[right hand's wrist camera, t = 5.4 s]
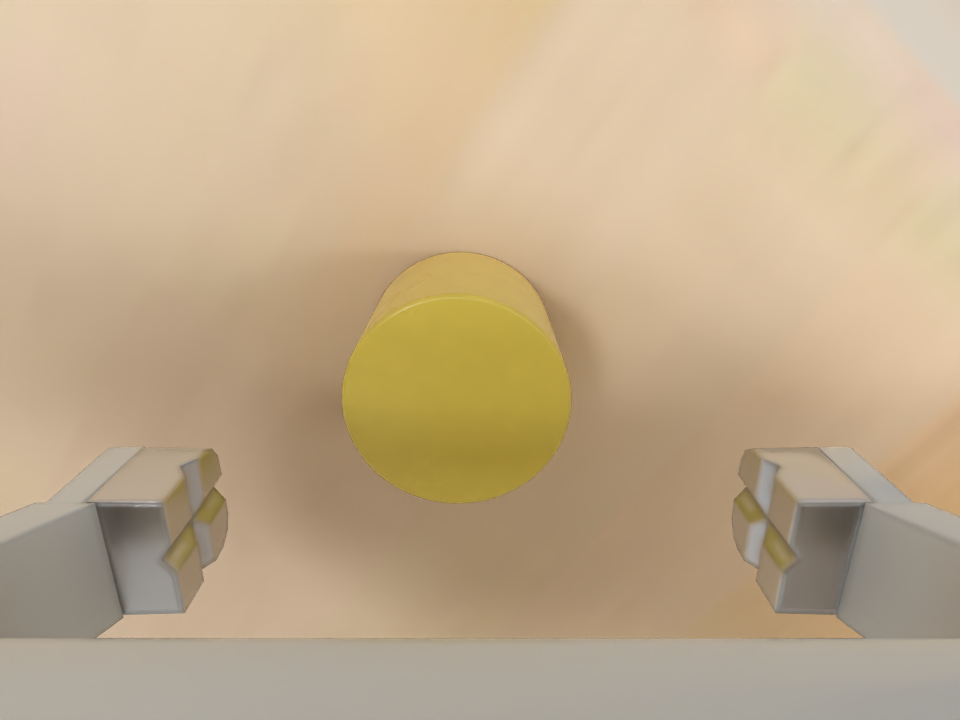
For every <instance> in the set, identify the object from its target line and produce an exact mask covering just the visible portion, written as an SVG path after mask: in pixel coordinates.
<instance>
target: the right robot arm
mask: <svg viewBox="0 0 960 720" xmlns="http://www.w3.org/2000/svg"><path fill="white" fill-rule="evenodd" d="M221 475H222V474H221V469H220V464H219V459H218V455H217V454H216V453H215V452H214V451H213V449H211V448H157V447H149V448H146V447H116V448H108V449H107V450H105V451H104V452H103V453H102V454H101V455H100V456H99V457H98V458H96V459H95V460H94V461H93V462H92V463H91V464H90V465H88V466H87V467H86V468H85V469H84V470H83V471H82V472H81V473H79V474H78V475H77V476H76V477H75V478H74V479H73V480H71V481H70V482H69V483H68V484H67V485H66V486H65V487H64V488H62V489H61V490H60V491H59V492H58V493H57V494H56V495H54V496H53V497H52V498H51V499H50V500H49V501H48V502H47V503H34V504H31V505H29V506H26V507H24V508H21V509H19V510H16V511H13V512H11V513H8V514H6V515H3V516H1V517H0V720H960V517H959V516H957V515H954V514H952V513H949V512H946V511H944V510H941V509H939V508H936V507H934V506H931V505H929V504H926V503H914V502H912V501H911V500H910V499H909V498H908V497H907V496H906V495H904V494H903V493H902V492H901V491H900V490H899V489H898V488H897V487H895V486H894V485H893V484H892V483H891V482H890V481H889V480H888V479H886V478H885V477H884V476H883V475H882V474H881V473H880V472H879V471H877V470H876V469H875V468H874V467H873V466H872V465H871V464H869V463H868V462H867V461H866V460H865V459H864V458H863V457H862V456H860V455H859V454H858V453H857V452H856V451H855V450H854V449H851V448H848V447H844V446H843V447H821V448H817V447H802V448H760V449H749V450H745V452H744V454H743V457H742V459H741V462H740V468H739V474H738V475H739V476H740V478H741V479H742V481H743V483H744V484H745V486H746V488H745V489H744V490H743V491H742V492H741V493H740V494H739V495H738V496H737V497H736V498H735V499H734V505H733V513H732V526H733V536H734V539H735V543H736V546H737V549H738V551H739V552H740V554H741V556H742V558H743V559H744V561H746V562H748V563H749V564H751V565H752V566H754V567H756V568H757V569H758V572H757V578H756V581H757V583H758V585H759V586H760V588H761V590H762V591H763V593H764V595H765V596H766V598H767V600H768V601H769V603H770V605H771V606H772V608H773V610H774V611H775V613H790V614H827V615H837V618H838V619H839V620H841V621H842V622H843V623H845V624H846V625H847V626H849V627H850V628H852V629H853V630H854V631H856V632H857V633H858V634H860V635H861V636H862V637H864V638H96V637H98V636H99V635H101V634H102V633H103V632H105V631H106V630H107V629H109V628H110V627H111V626H113V625H114V624H115V623H117V622H118V621H120V620H121V619H122V618H123V615H133V614H169V613H185V611H186V610H187V608H188V606H189V605H190V603H191V601H192V600H193V598H194V596H195V595H196V593H197V591H198V590H199V588H200V586H201V585H202V583H203V581H204V578H203V572H202V569H203V568H204V567H206V566H208V565H209V564H211V563H212V562H214V561H216V559H217V558H218V556H219V554H220V552H221V550H222V549H223V546H224V542H225V538H226V534H227V530H228V511H227V504H226V499H225V498H224V497H223V496H222V495H221V494H220V493H219V492H218V491H217V490H216V489H215V488H214V486H215V484H216V483H217V481H218V479H219V478H220V476H221Z"/></svg>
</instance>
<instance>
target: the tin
mask: <svg viewBox="0 0 960 720" xmlns="http://www.w3.org/2000/svg"><path fill="white" fill-rule="evenodd" d="M571 400H572V396H571V385H570V380H569V376H568V371H567V368H566V365H565V363H564V360H563V357H562V354H561V351H560V349H559V346H558V343H557V340H556V337H555V335H554V332H553V329H552V326H551V323H550V321H549V318H548V315H547V312H546V310H545V307H544V305H543V302H542V300H541V299H540V297H539V295H538V293H537V292H536V290H535V289H534V288H533V286H532V285H531V284H530V283H529V282H528V281H527V280H526V279H525V278H524V277H523V276H522V275H521V274H520V273H519V272H517V271H516V270H515V269H513V268H512V267H510V266H509V265H507V264H505V263H503V262H502V261H499V260H497V259H494V258H492V257H489V256H485V255H481V254H476V253H469V252H452V253H444V254H439V255H436V256H432V257H429V258H427V259H424V260H422V261H419V262H418V263H416V264H414V265H412V266H411V267H409V268H408V269H406V270H405V271H404V272H402V273H401V274H400V275H399V276H398V277H397V278H396V279H395V280H394V281H393V282H392V283H391V284H390V286H389V287H388V288H387V290H386V291H385V292H384V294H383V296H382V298H381V300H380V302H379V303H378V305H377V307H376V309H375V311H374V313H373V315H372V317H371V319H370V320H369V322H368V324H367V326H366V328H365V330H364V332H363V334H362V336H361V338H360V340H359V341H358V343H357V345H356V347H355V349H354V351H353V353H352V355H351V357H350V359H349V362H348V365H347V367H346V370H345V375H344V379H343V384H342V408H343V415H344V419H345V424H346V427H347V429H348V432H349V435H350V437H351V439H352V441H353V443H354V445H355V447H356V448H357V450H358V452H359V453H360V454H361V456H362V457H363V459H364V460H365V461H366V462H367V463H368V465H369V466H370V467H371V468H372V469H373V470H374V471H375V472H376V473H377V474H379V475H380V476H381V477H382V478H384V479H385V480H386V481H388V482H389V483H391V484H392V485H394V486H395V487H397V488H399V489H401V490H403V491H405V492H407V493H409V494H412V495H414V496H417V497H420V498H423V499H427V500H432V501H436V502H444V503H472V502H480V501H484V500H488V499H493V498H495V497H498V496H501V495H504V494H506V493H508V492H510V491H512V490H514V489H516V488H518V487H520V486H521V485H523V484H524V483H526V482H527V481H529V480H530V479H531V478H533V477H534V476H535V475H536V474H537V473H539V472H540V471H541V470H542V468H543V467H544V466H545V465H546V464H547V463H548V462H549V461H550V459H551V458H552V456H553V455H554V454H555V452H556V451H557V449H558V447H559V445H560V444H561V442H562V440H563V438H564V435H565V432H566V429H567V427H568V423H569V418H570V413H571Z"/></svg>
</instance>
